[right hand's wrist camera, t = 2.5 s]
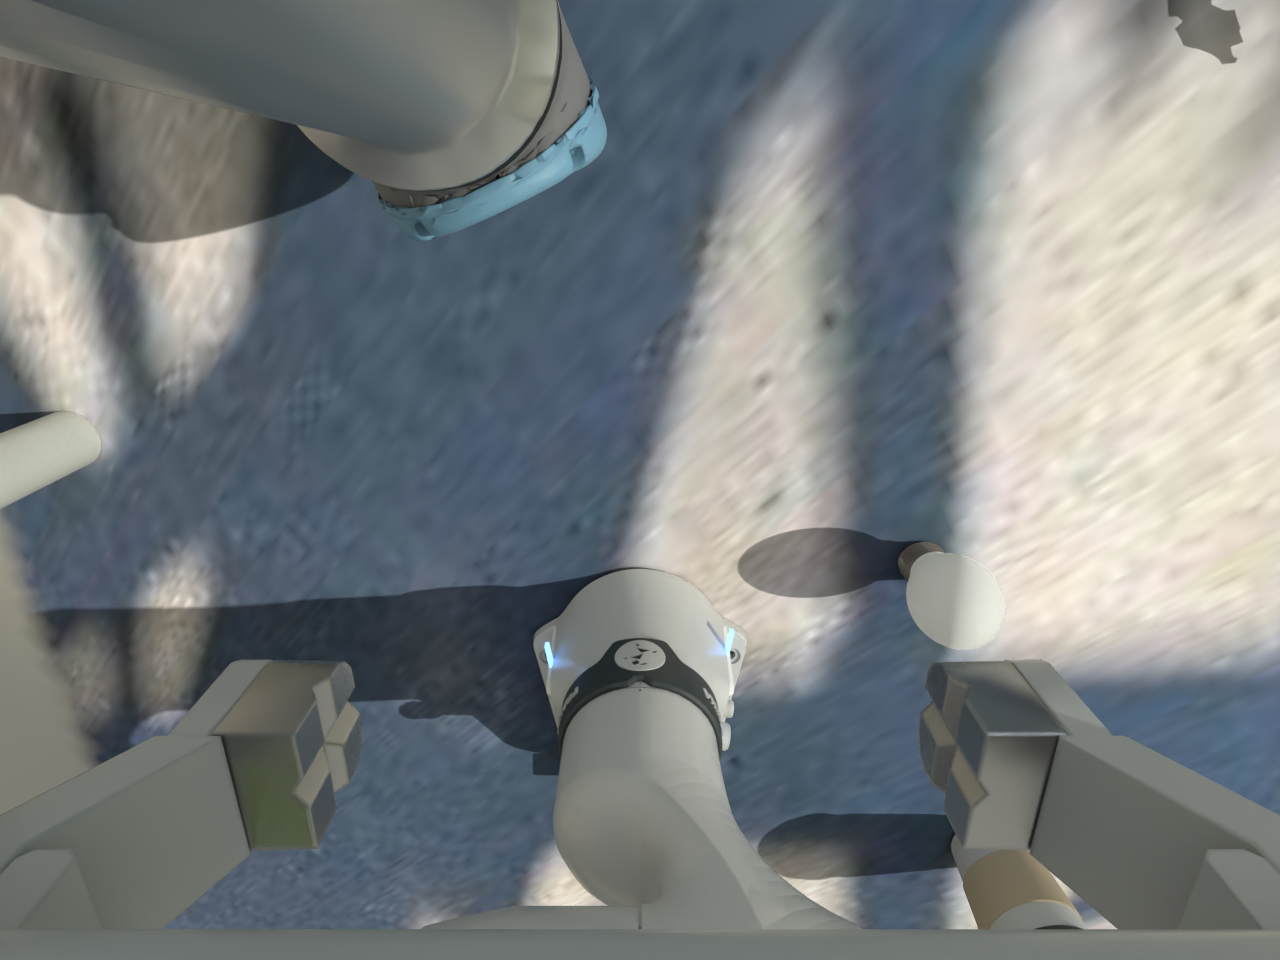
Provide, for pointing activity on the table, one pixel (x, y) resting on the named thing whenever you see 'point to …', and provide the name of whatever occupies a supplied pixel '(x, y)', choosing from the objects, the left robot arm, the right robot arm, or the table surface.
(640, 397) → the table surface
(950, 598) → the light bulb
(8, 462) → the jar
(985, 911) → the coffee cup
